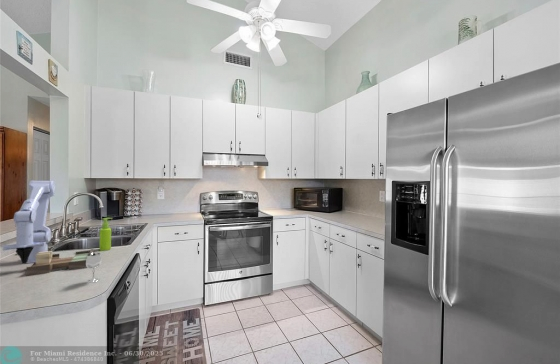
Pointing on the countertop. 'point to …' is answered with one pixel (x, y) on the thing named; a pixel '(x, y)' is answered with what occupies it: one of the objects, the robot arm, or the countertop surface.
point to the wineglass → (93, 264)
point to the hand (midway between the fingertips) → (24, 262)
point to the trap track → (60, 263)
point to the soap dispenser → (105, 236)
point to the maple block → (43, 257)
